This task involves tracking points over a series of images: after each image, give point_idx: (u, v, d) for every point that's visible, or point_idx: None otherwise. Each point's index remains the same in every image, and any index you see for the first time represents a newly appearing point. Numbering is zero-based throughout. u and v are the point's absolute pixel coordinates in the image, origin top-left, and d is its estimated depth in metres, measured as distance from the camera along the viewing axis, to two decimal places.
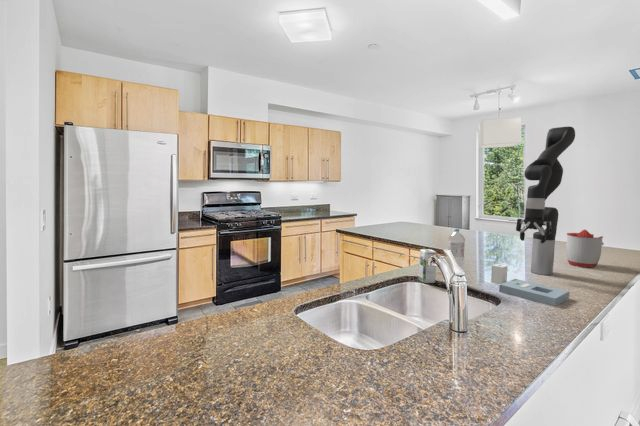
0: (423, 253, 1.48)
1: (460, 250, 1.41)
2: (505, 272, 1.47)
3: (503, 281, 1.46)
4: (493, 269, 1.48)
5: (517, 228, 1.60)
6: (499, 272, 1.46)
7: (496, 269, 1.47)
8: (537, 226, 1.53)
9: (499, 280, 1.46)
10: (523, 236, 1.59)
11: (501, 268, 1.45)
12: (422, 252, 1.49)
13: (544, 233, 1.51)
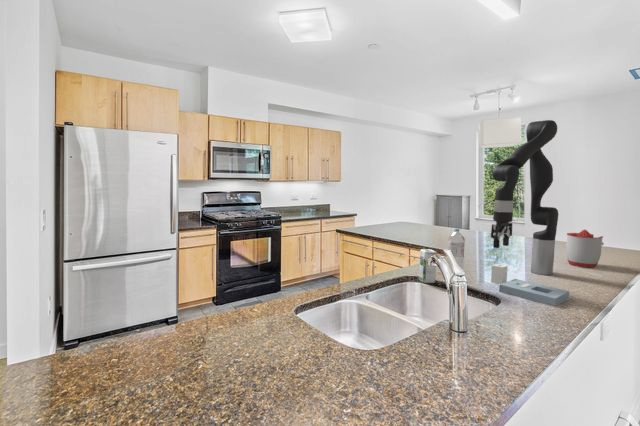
0: (423, 253, 1.48)
1: (460, 250, 1.41)
2: (505, 272, 1.47)
3: (503, 281, 1.46)
4: (493, 269, 1.48)
5: (497, 235, 1.42)
6: (499, 272, 1.46)
7: (496, 269, 1.47)
8: (508, 229, 1.46)
9: (499, 280, 1.46)
10: None
11: (501, 268, 1.45)
12: (422, 252, 1.49)
13: (509, 235, 1.49)
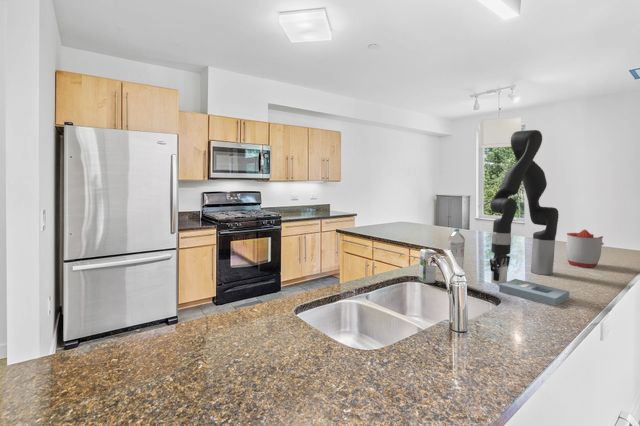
0: (423, 253, 1.48)
1: (460, 250, 1.41)
2: (505, 272, 1.47)
3: (503, 281, 1.46)
4: None
5: (497, 269, 1.44)
6: (499, 272, 1.46)
7: None
8: (505, 261, 1.47)
9: (499, 280, 1.46)
10: None
11: (501, 268, 1.45)
12: (422, 252, 1.49)
13: None
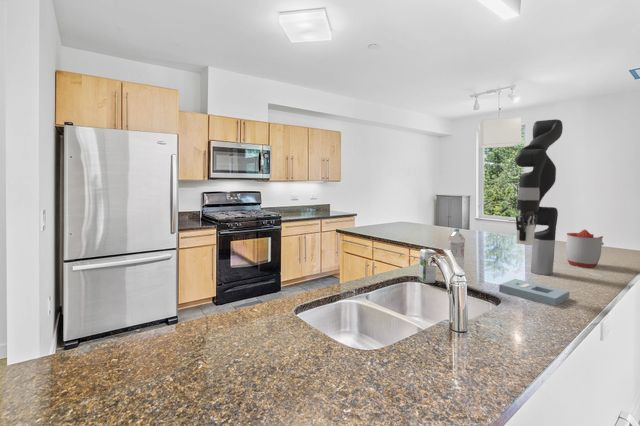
0: (423, 253, 1.48)
1: (460, 250, 1.41)
2: (532, 231, 1.34)
3: (530, 241, 1.33)
4: None
5: (523, 227, 1.31)
6: (526, 231, 1.33)
7: None
8: (533, 220, 1.34)
9: (526, 240, 1.33)
10: None
11: (528, 226, 1.32)
12: (422, 252, 1.49)
13: None
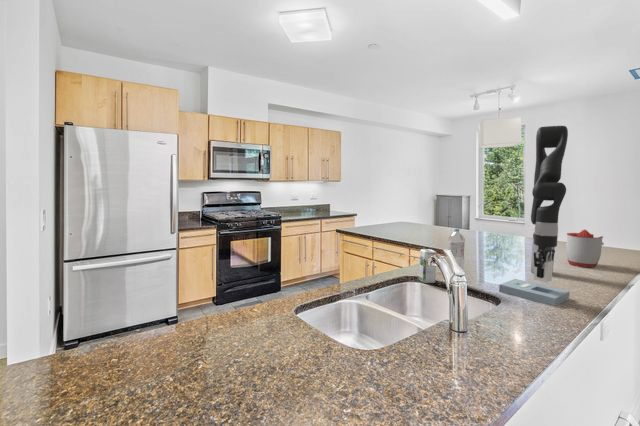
0: (423, 253, 1.48)
1: (460, 250, 1.41)
2: (550, 268, 1.28)
3: (548, 278, 1.27)
4: None
5: (542, 264, 1.25)
6: (544, 268, 1.27)
7: None
8: (551, 256, 1.28)
9: (544, 277, 1.27)
10: None
11: (546, 263, 1.26)
12: (422, 252, 1.49)
13: None
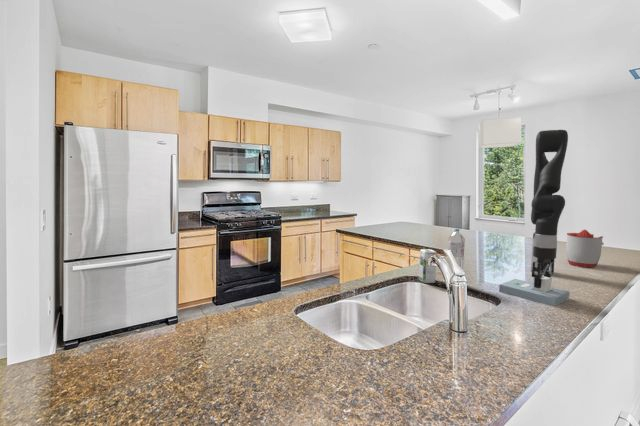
0: (423, 253, 1.48)
1: (460, 250, 1.41)
2: (549, 285, 1.29)
3: None
4: None
5: (539, 275, 1.25)
6: (543, 285, 1.28)
7: None
8: (550, 266, 1.29)
9: None
10: None
11: (545, 281, 1.27)
12: (422, 252, 1.49)
13: (551, 272, 1.31)
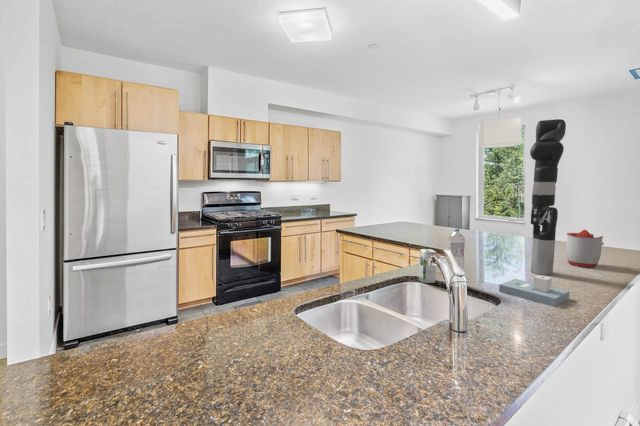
0: (423, 253, 1.48)
1: (460, 250, 1.41)
2: (549, 285, 1.29)
3: None
4: (535, 281, 1.30)
5: (538, 221, 1.26)
6: (543, 285, 1.28)
7: (539, 281, 1.29)
8: (549, 214, 1.31)
9: None
10: None
11: (545, 281, 1.27)
12: (422, 252, 1.49)
13: (550, 221, 1.33)
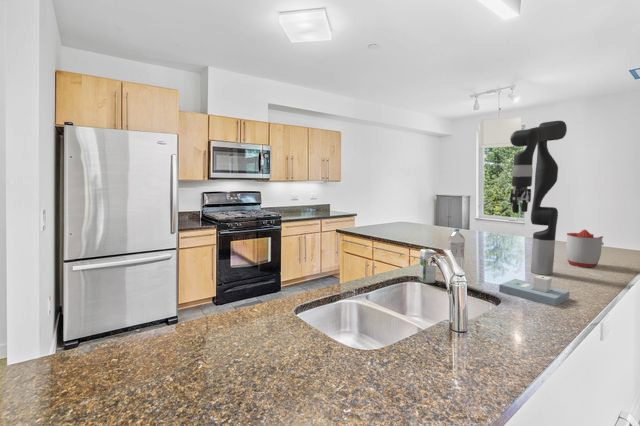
0: (423, 253, 1.48)
1: (460, 250, 1.41)
2: (549, 285, 1.29)
3: None
4: (535, 281, 1.30)
5: (516, 200, 1.41)
6: (543, 285, 1.28)
7: (539, 281, 1.29)
8: (527, 195, 1.45)
9: None
10: None
11: (545, 281, 1.27)
12: (422, 252, 1.49)
13: (528, 201, 1.48)
